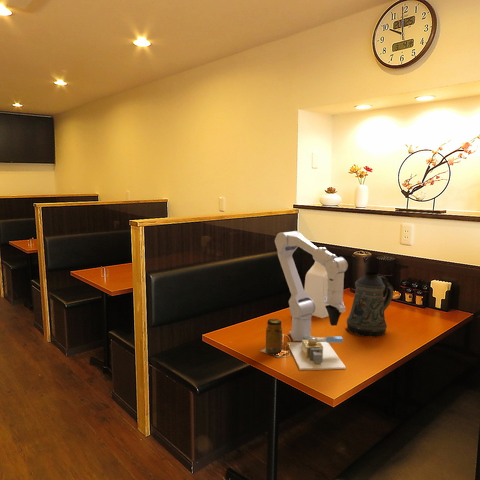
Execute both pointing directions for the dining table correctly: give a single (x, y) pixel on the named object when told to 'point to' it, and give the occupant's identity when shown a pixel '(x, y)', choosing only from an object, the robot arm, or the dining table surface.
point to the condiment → (273, 337)
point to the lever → (325, 339)
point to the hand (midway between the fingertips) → (333, 324)
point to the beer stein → (370, 306)
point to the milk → (317, 288)
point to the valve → (312, 350)
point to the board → (328, 361)
